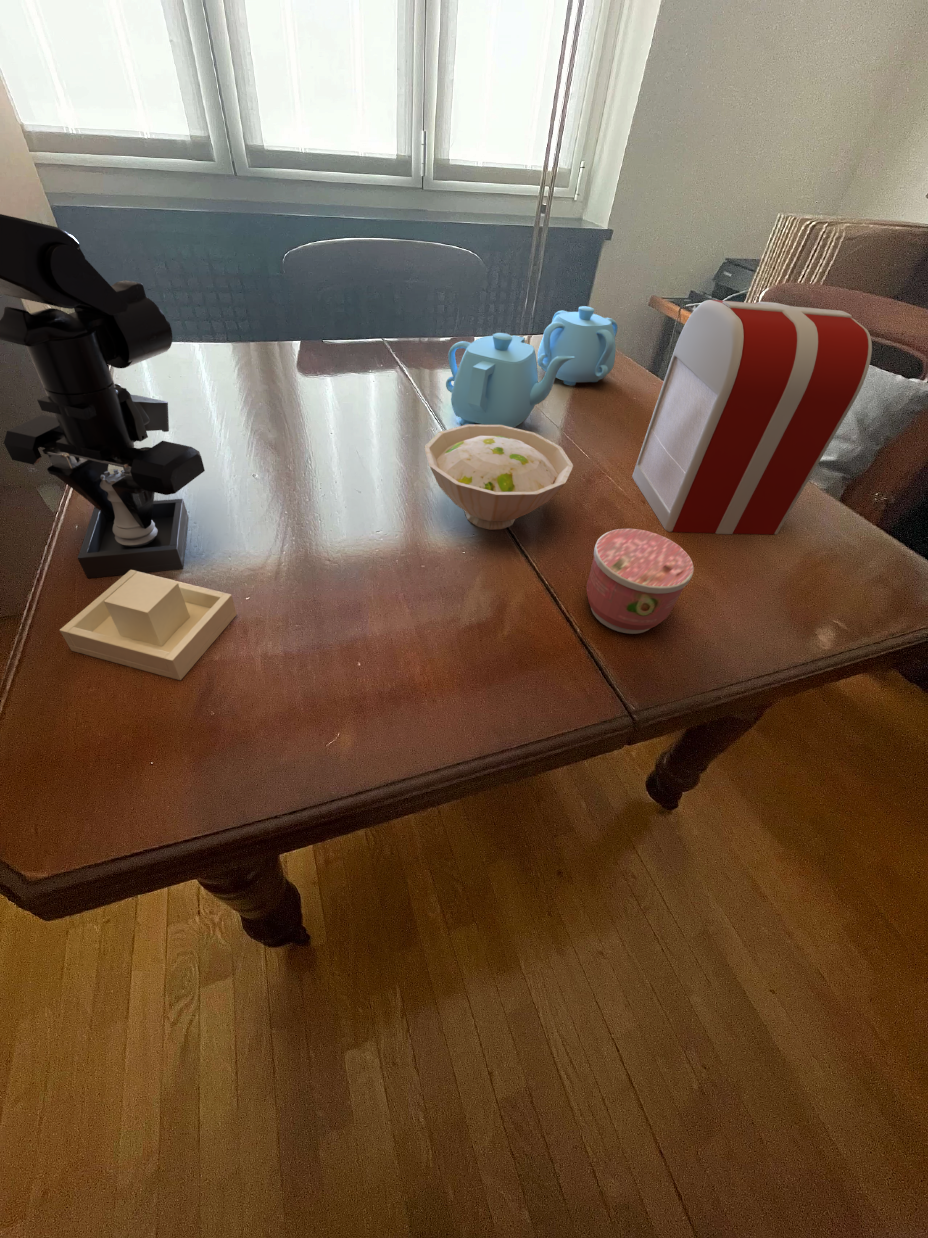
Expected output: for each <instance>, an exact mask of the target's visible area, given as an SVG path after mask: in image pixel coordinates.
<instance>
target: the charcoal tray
mask: <svg viewBox="0 0 928 1238" xmlns="http://www.w3.org/2000/svg"><path fill="white" fill-rule="evenodd" d="M93 506H94V505H93ZM189 518H190V517H189V514H188V511H187V508H186V504H185V501H184V499H183V498H173V499H159V500H157V499H156V500H154V503H153V512H152V520H153V522H154V523H155V527H156V528H157V530H158V532H157V535H156V537H155V539H154V540H153V541H152V542H150V543H148V544H146V545H143V546H139V547H128V546H124V545H122V544H120V543H118V542H117V541H116V539H115V534H114V533H113V525H114V521H112V520H110V519H109V518H108V517H107V516H106V515H104V514H103V513H102V512H101V511H100V510H98V509H97V508H96V507H95V506H94V507H93V510H92V512H91V515H90V519H89V522H88V525H87V528H86V531H85V534H84V537H83V541H82V544H81V547H80V549H79V553H78V554H77V555H78V556H77V560H78V562H79V564H80V566H81V568H82V570H83V573H84V575H85V576H86V578H87V579H95V578H103V577H104V578H105V577H114V576H116V577H117V576H124V575H125V574H126V573H127V572H128V571H130V570H135V571H137V572H142V573H146V574H147V573H155V572H164V571H174V570H183V569H184V566H185V556H186V548H187V547H186V545H187V538H188V537H187V536H188V529H189V527H188V526H189Z"/></svg>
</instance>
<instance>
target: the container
mask: <svg viewBox="0 0 928 1238" xmlns="http://www.w3.org/2000/svg"><path fill="white" fill-rule="evenodd" d="M694 569H695V568H694V563H693V560H692V558H691V557H690V555H689V554H688V553H687V552H686V551H685V550H684V549H683V547H681V546H680V545H679V544H677V543H676V542H675V541H672V540H671V539H669V538H667V537H666V536H663V535H660V534H659V533H655V532H652V531H650V530H649V531H648V530H644V529H639V528H618V529H613V530H610V531H607V532H605V533H603V534H602V535H601V536H600V537H598V539H597V541H596V543H595V545H594V549H593V559H592V563H591V566H590V570H589V571H590V572H589V575H588V579H587V582H586V587H585V589H586V594H587V600H588V604H589V606H590V611H591V613H592V615H593V616H594V617H595V618H596V620H598V622H599V623H601V624H602V625H604V626H605V627H607V628H609V629H611V630H613V631H616V632H619V633H623V634H629V635H630V634H631V635H633V634H635V635H637V634H642V633H645V632H647V631H649V630H650V629H653V628H654V627H656V626H658V625H659V624H660V623H662V622H663V621H664V620H666V619H667V618H668V617H669V615H670V614H671V613H672V610H673V608H674V607H675V605H676V603H677V602H678V599H679V598H680V596H681V594H682V593H683V590H684V588H685V587H686V586H687V585H688V584H689V583H690V581H691V579H692V577H693V574H694Z"/></svg>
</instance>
